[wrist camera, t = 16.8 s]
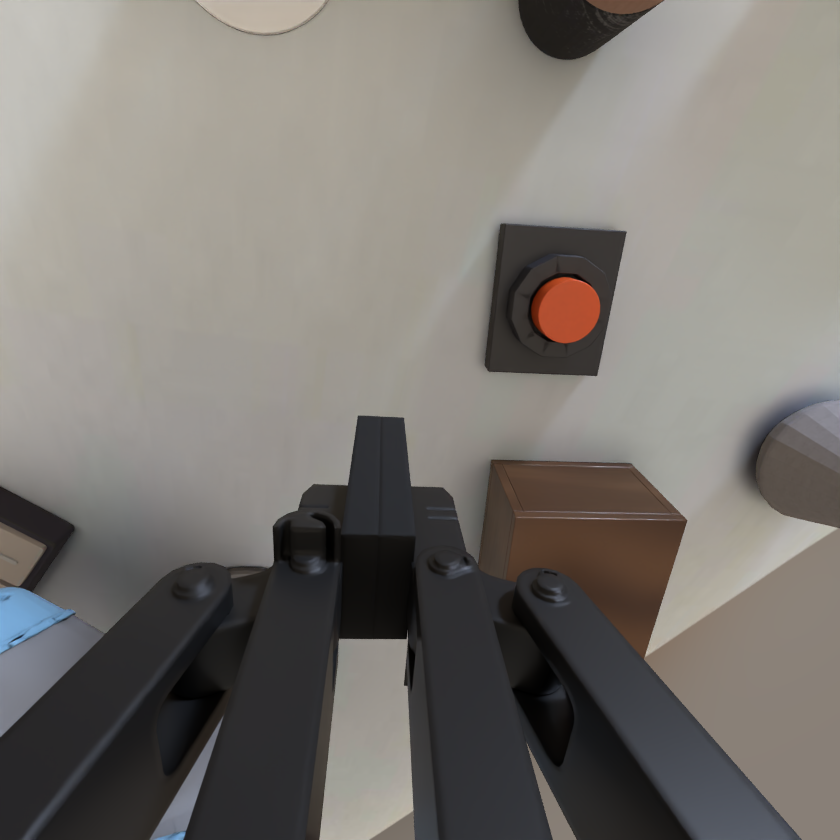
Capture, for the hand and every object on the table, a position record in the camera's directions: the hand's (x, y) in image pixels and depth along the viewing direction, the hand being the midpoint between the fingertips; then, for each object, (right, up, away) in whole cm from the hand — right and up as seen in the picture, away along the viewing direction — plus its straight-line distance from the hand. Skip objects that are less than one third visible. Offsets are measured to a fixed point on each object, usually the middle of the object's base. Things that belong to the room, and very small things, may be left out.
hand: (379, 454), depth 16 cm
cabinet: (+14, -10, +31) cm, 35 cm away
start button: (+12, +9, +20) cm, 25 cm away
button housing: (+12, +11, +22) cm, 27 cm away
